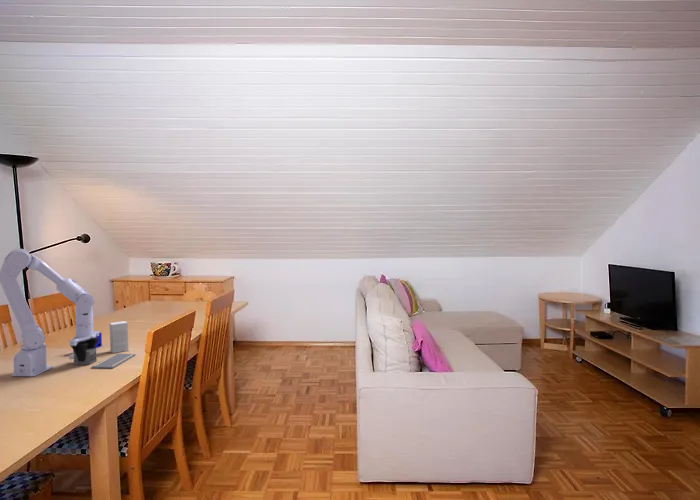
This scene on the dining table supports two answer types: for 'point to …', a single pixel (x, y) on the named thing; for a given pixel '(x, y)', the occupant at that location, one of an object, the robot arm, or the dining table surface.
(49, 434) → the dining table surface
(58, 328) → the dining table surface
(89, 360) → the plug
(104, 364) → the felt mat
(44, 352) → the robot arm
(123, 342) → the skincare box
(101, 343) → the blue notched bracket
